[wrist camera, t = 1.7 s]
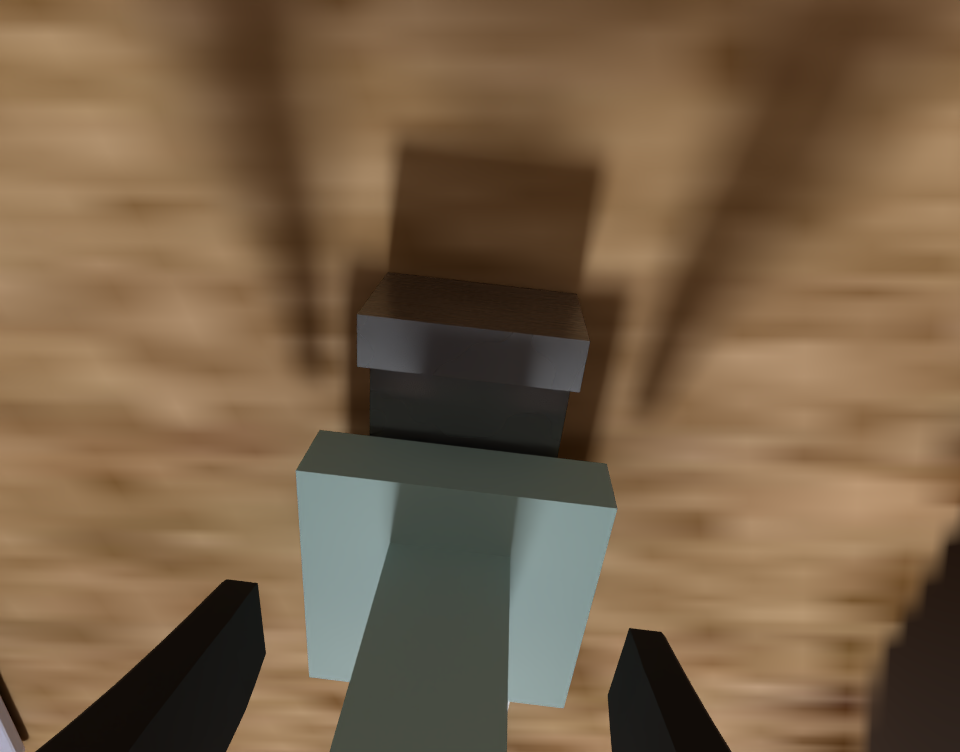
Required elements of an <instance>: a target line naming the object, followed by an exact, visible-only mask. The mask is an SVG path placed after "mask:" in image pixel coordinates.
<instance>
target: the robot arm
mask: <svg viewBox="0 0 960 752" xmlns="http://www.w3.org/2000/svg"><path fill="white" fill-rule="evenodd" d="M265 654H266V650H265V642H264V633H263V625H262V616H261V608H260V599H259V591H258V583H252V582H244V581H236V580H225V581H224V582H222V583H221V584H220V585H219V586H218V587H217V588H216V589H215V590H214V591H213V592H212V593H211V594H210V595H209V596H208V597H207V598H206V599H205V600H204V601H203V602H202V603H201V604H200V605H199V606H198V607H197V608H196V609H195V610H194V611H193V612H192V613H191V614H190V615H189V616H188V617H187V618H186V619H185V620H183V621H182V622H181V623H180V624H179V625H178V626H177V627H176V628H175V629H174V630H173V631H172V632H171V633H170V634H169V635H168V636H167V637H166V638H165V639H164V640H163V641H162V642H161V643H160V644H159V645H157V646H156V647H155V648H154V649H153V650H152V651H151V652H150V653H149V654H148V655H147V656H146V657H144V658H143V659H142V660H141V661H140V662H139V663H138V664H137V665H136V666H135V667H134V668H133V669H131V670H130V671H129V672H128V673H127V674H126V675H125V676H124V677H123V678H122V679H121V680H119V681H118V682H117V683H116V684H115V685H114V686H113V687H112V688H111V689H109V690H108V691H107V692H106V693H105V694H104V695H102V696H101V697H100V698H99V699H98V700H97V701H95V702H94V703H93V704H92V705H91V706H90V707H88V708H87V709H86V710H85V711H84V712H83V713H81V714H80V715H79V716H78V717H77V718H76V719H74V720H73V721H72V722H71V723H70V724H69V725H67V726H66V727H65V728H64V729H63V730H61V731H60V732H59V733H58V734H57V735H55V736H54V737H53V738H52V739H50V740H49V741H48V742H47V743H46V744H44V745H43V746H42V747H41V748H39V749H38V750H37V751H36V752H226V751H227V748H228V746H229V744H230V742H231V740H232V738H233V736H234V734H235V732H236V730H237V727H238V725H239V723H240V721H241V719H242V717H243V715H244V712H245V710H246V708H247V705H248V702H249V700H250V697H251V694H252V691H253V689H254V686H255V683H256V680H257V678H258V675H259V672H260V669H261V666H262V663H263V660H264V657H265ZM608 706H609V720H610V734H611V745H612V752H731V750H730V749H729V747H728V745H727V744H726V742H725V741H724V739H723V737H722V736H721V734H720V732H719V731H718V729H717V728H716V726H715V724H714V723H713V721H712V719H711V718H710V716H709V714H708V713H707V711H706V709H705V707H704V706H703V704H702V702H701V700H700V699H699V697H698V695H697V694H696V692H695V690H694V688H693V687H692V685H691V683H690V681H689V679H688V678H687V676H686V674H685V672H684V670H683V669H682V667H681V665H680V663H679V661H678V660H677V658H676V656H675V654H674V652H673V650H672V649H671V647H670V645H669V643H668V641H667V639H666V637H665V636H664V635H663V634H662V632H657V631H649V630H641V629H632V628H629V631H628V634H627V637H626V640H625V643H624V646H623V650H622V653H621V656H620V659H619V662H618V665H617V668H616V671H615V674H614V678H613V681H612V684H611V687H610V690H609V693H608ZM24 751H25V747H24V745H23V742H22V740H21V738H20V736H19V734H18V732H17V730H16V727H15V725H14V723H13V721H12V719H11V717H10V715H9V713H8V710H7V708H6V706H5V704H4V702H3V700H2V698H1V696H0V752H24Z"/></svg>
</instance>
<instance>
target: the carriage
mask: <svg viewBox="0 0 960 752" xmlns="http://www.w3.org/2000/svg"><path fill="white" fill-rule="evenodd" d="M296 481H297V496H298V511H299V527H300V542H301V557H302V573H303V588H304V603H305V619H306V634H307V649H308V664H309V677H313V678H321V679H329V680H337V681H346V682H350V683H349V686H348V690H347V693H346V697H345V700H344V704H343V707H342V711H341V714H340V717H339V721H338V724H337V728H336V731H335V735H334V738H333V742H332V745H331V749H330V752H507V713H508V701H509V702H517V703H525V704H533V705H541V706H549V707H557V708H564V705H565V701H566V697H567V694H568V690H569V686H570V683H571V679H572V675H573V671H574V668H575V664H576V660H577V657H578V653H579V649H580V645H581V642H582V638H583V634H584V631H585V627H586V623H587V619H588V616H589V612H590V608H591V604H592V601H593V597H594V593H595V590H596V586H597V582H598V578H599V575H600V571H601V567H602V564H603V560H604V556H605V552H606V549H607V545H608V541H609V538H610V534H611V530H612V526H613V523H614V519H615V515H616V512H617V505H616V501H615V497H614V492H613V488H612V484H611V480H610V476H609V471H608V467H607V464H604V463H595V462H587V461H578V460H570V459H561V458H553V457H544V456H536V455H527V454H519V453H510V452H502V451H493V450H485V449H476V448H468V447H459V446H451V445H442V444H434V443H425V442H417V441H408V440H400V439H391V438H383V437H374V436H366V435H357V434H349V433H340V432H332V431H323V430H320V431H319V432H318V434H317V436H316V437H315V439H314V441H313V442H312V444H311V446H310V447H309V449H308V451H307V453H306V454H305V456H304V458H303V459H302V461H301V463H300V464H299V466H298V468H297V469H296Z"/></svg>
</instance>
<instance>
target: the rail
mask: <svg viewBox="0 0 960 752" xmlns="http://www.w3.org/2000/svg"><path fill="white" fill-rule="evenodd" d="M589 344H590V339H589V336H588V332H587V329H586V325H585V322H584V318H583V315H582V311H581V307H580V304H579V300H578V297H577V294H572V293H563V292H554V291H545V290H537V289H528V288H519V287H510V286H502V285H493V284H484V283H475V282H466V281H458V280H449V279H440V278H431V277H423V276H414V275H405V274H396V273H387V274H386V276H385V277H384V278H383V280H382V281H381V282H380V284H379V285H378V286H377V288H376V289H375V291H374V292H373V293H372V295H371V296H370V297H369V299H368V300H367V301H366V303H365V304H364V306H363V307H362V308H361V310H360V311H359V312H358V314H357V367H364V368H370V436H374V437H383V438H391V439H400V440H408V441H417V442H425V443H434V444H442V445H451V446H459V447H468V448H476V449H485V450H493V451H502V452H510V453H519V454H527V455H536V456H544V457H553V458H557V456H558V451H559V445H560V440H561V435H562V430H563V425H564V420H565V415H566V410H567V405H568V399H569V394H570V391H571V392H580V388H581V383H582V378H583V373H584V369H585V364H586V359H587V354H588V349H589ZM508 706H509V701H508Z"/></svg>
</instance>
